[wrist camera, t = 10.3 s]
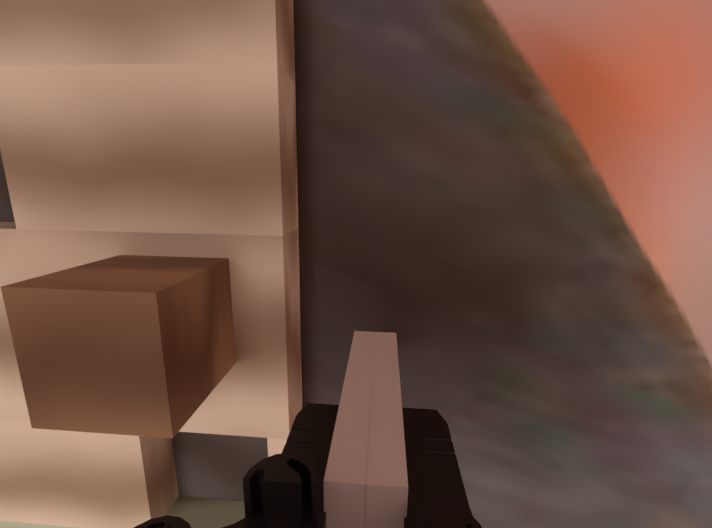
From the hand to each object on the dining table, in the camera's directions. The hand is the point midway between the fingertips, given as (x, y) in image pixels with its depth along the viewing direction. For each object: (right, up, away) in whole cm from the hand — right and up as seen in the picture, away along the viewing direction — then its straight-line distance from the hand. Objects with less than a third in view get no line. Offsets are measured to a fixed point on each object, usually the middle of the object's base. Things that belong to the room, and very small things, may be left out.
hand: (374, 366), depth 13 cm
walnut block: (-8, +2, +2) cm, 8 cm away
